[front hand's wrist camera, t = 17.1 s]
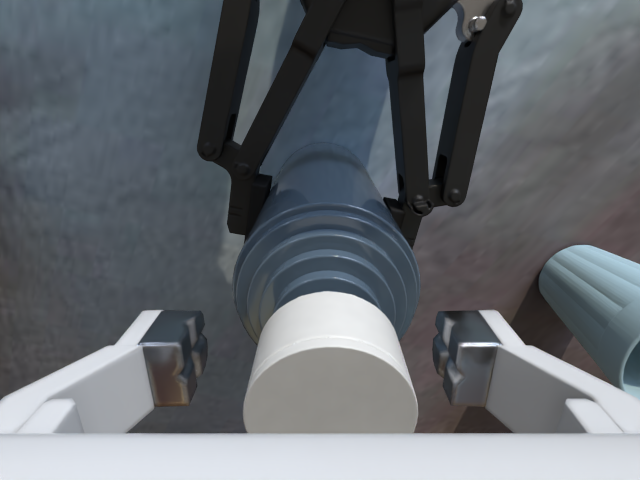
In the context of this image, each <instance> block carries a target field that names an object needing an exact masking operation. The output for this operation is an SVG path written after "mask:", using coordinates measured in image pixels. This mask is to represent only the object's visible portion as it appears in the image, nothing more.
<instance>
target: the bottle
mask: <svg viewBox="0 0 640 480" xmlns="http://www.w3.org/2000/svg"><path fill="white" fill-rule="evenodd" d="M420 286H421V284H420V273H419V268H418V263H417V261H416V258H415V255H414V253H413V251H412V249H411V247H410V246H409V244H408V242H407V240H406V239H405V237H404V235H403V233H402V232H401V230H400V228H399V227H398V225H397V223H396V221H395V220H394V218H393V216H392V214H391V213H390V211H389V209H388V208H387V206H386V204H385V202H384V201H383V199H382V197H381V195H380V194H379V192H378V190H377V189H376V187H375V185H374V183H373V182H372V180H371V178H370V176H369V175H368V173H367V171H366V169H365V168H364V166H363V164H362V163H361V161H360V160H359V159H358V158H357V157H356V156H355V155H354V154H353V153H352V152H350V151H349V150H347V149H346V148H344V147H341V146H339V145H335V144H331V143H316V144H311V145H308V146H305V147H303V148H301V149H299V150H298V151H296V152H295V153H294V154H292V155H291V156H290V157H289V158H288V159H287V161H286V162H285V164H284V165H283V167H282V169H281V171H280V173H279V175H278V177H277V179H276V181H275V183H274V185H273V187H272V189H271V191H270V193H269V195H268V197H267V199H266V201H265V203H264V205H263V207H262V209H261V211H260V213H259V215H258V217H257V219H256V222H255V224H254V226H253V228H252V230H251V232H250V234H249V236H248V238H247V240H246V242H245V244H244V246H243V248H242V250H241V252H240V254H239V256H238V259H237V262H236V265H235V268H234V274H233V288H232V289H233V297H234V302H235V306H236V310H237V312H238V314H239V317H240V319H241V321H242V323H243V326H244V328H245V329H246V331H247V333H248V334H249V336H250V337H251V338H252V340H253V341H254V342H255V343H256V344H257V345H258V343H259V339H260V335H261V332H262V330H263V328H264V326H265V324H266V323H267V321H268V320H269V319H270V317H271V316H272V315H273V314H274V313H275V312H276V311H277V310H278V309H279V308H281V307H282V306H284V305H285V304H287V303H288V302H290V301H292V300H294V299H296V298H298V297H300V296H304V295H307V294H312V293H317V292H324V291H326V292H327V291H330V292H340V293H346V294H352V295H355V296H357V297H359V298H362V299H364V300H366V301H368V302H369V303H371V304H373V305H374V306H376V307H377V308H378V309H379V310H380V311H381V312H382V313H384V314H385V316H386V317H387V318H388V319H389V321H390V322H391V324H392V326H393V327H394V329H395V332H396V335H397V338H398V341H400V339H401V338H402V337H403V335H404V334H405V333H406V331H407V329H408V327H409V326H410V324H411V321H412V319H413V316H414V313H415V311H416V308H417V305H418V301H419V297H420Z"/></svg>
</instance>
